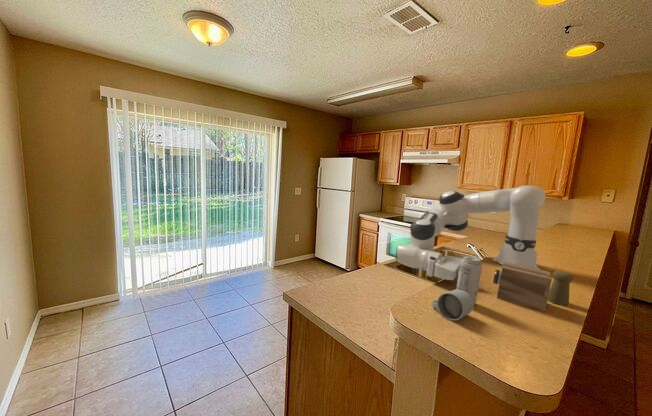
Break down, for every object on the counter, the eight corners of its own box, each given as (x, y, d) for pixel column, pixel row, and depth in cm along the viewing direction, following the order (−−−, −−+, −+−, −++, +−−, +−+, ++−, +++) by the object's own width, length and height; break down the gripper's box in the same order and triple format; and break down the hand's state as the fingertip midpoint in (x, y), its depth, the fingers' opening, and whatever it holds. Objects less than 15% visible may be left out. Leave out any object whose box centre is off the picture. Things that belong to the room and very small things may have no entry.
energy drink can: (478, 308, 84) (486, 262, 82) (459, 306, 85) (466, 260, 82) (469, 299, 90) (476, 256, 88) (451, 297, 91) (458, 254, 88)
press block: (498, 289, 100) (504, 261, 98) (543, 302, 92) (549, 271, 91) (496, 298, 93) (502, 267, 91) (544, 312, 85) (551, 279, 84)
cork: (573, 307, 90) (580, 276, 89) (552, 304, 91) (559, 273, 90) (561, 299, 96) (567, 270, 95) (542, 296, 97) (548, 267, 96)
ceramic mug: (474, 317, 79) (477, 292, 78) (461, 326, 73) (465, 299, 72) (439, 302, 87) (442, 279, 86) (425, 309, 81) (428, 285, 80)
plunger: (493, 280, 99) (496, 267, 98) (537, 292, 92) (540, 278, 91) (492, 285, 95) (495, 271, 94) (537, 297, 88) (540, 282, 87)
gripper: (440, 263, 117) (475, 273, 109) (426, 277, 101) (466, 289, 93) (442, 249, 116) (478, 258, 108) (428, 260, 100) (469, 272, 92)
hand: (473, 272), depth 100 cm, fingers closed
